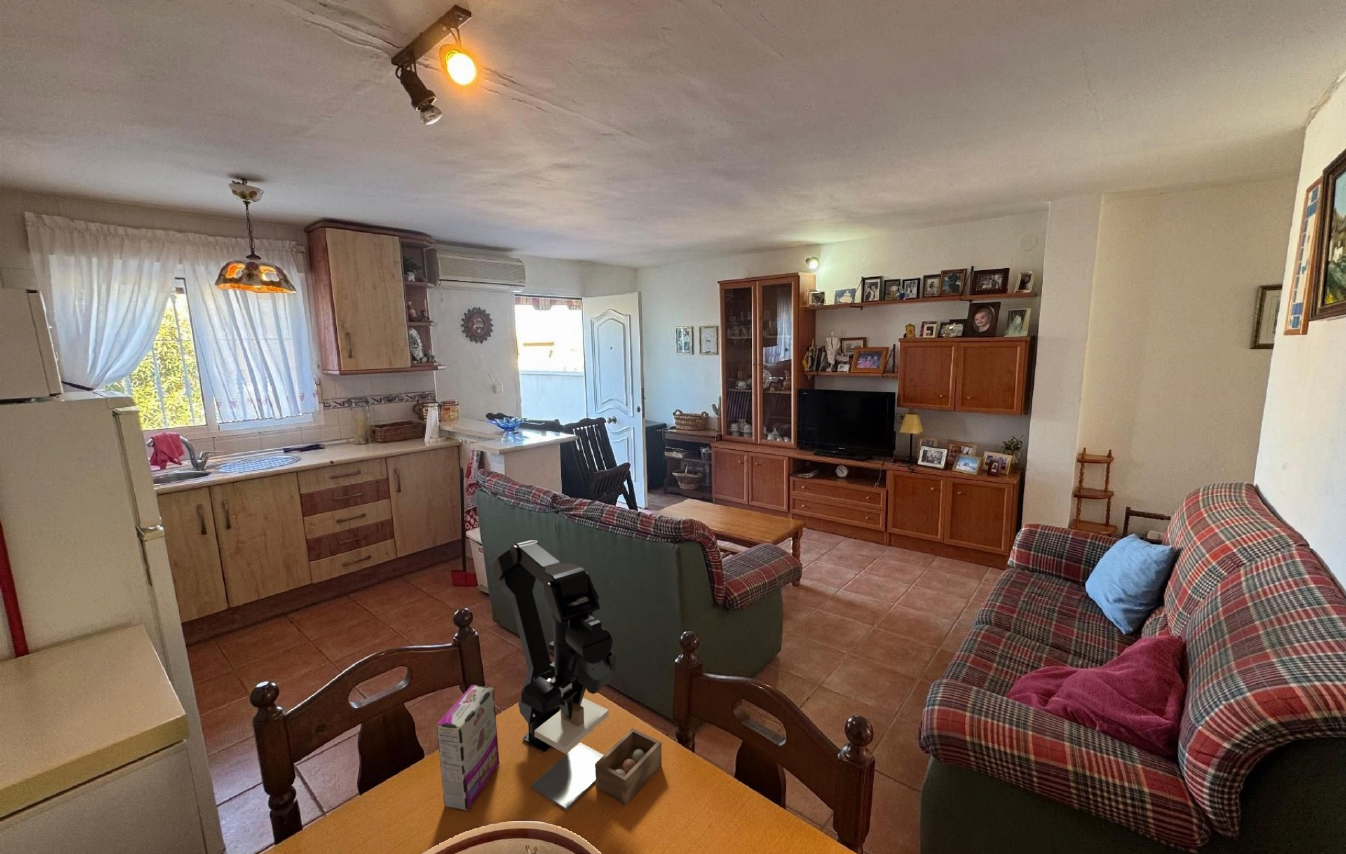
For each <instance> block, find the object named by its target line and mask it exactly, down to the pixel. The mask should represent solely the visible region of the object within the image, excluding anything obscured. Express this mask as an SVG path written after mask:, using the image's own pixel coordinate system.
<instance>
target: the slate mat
mask: <svg viewBox="0 0 1346 854" xmlns="http://www.w3.org/2000/svg"><path fill="white" fill-rule="evenodd" d="M604 755H605V754H603V753H601V752H599V751H597V750H596V749H594V748H591V747H589V746H588V745H586V744H584V743H582V742H578V743H577V744H576V745H575V746H574V747H572V748H571V749H570V750H569V751H568V752H567V753H566V754H565V755H563V757H561V758H560V759H559V760H558V761H557V762H556V763H554V764H553V765H552V766H551V767H550V768H549V769H548V770H547V771H545V772H543V774H542V775H541V776H540V777H538V779H536V780H535V781H534V782H533V783H531V785H530V788H531V789H532V790H534V791H535V792H537V793H538V794H540V795H541V796H542V797H544V798H546V799H547V800H549V801H550V802H552V803H553V804H554V805H557V806H558V807H560V808H561V809H562V810H564V811H566V812H567V811H568V810H569V809H570V808H571V807H572V806H573V805H574V804H575V803H577V801H578V800H579V799H581V797H582V796H583V795H584V794H585V793H586V792H587V791H588V790H589V789H590V788H591V787H593V785H594V784H596V777H595V763H596V762H597V761H598V760H599V759H600V758H601V757H603V756H604Z"/></svg>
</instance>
